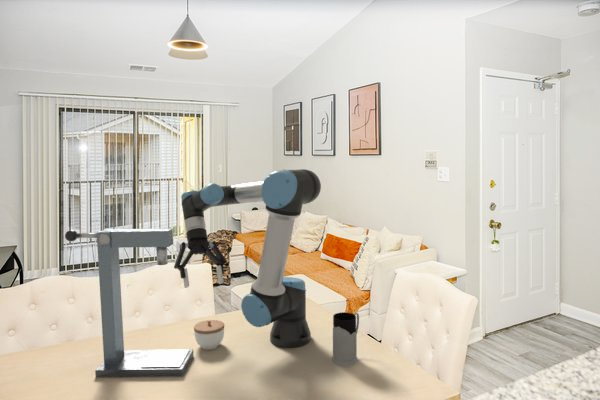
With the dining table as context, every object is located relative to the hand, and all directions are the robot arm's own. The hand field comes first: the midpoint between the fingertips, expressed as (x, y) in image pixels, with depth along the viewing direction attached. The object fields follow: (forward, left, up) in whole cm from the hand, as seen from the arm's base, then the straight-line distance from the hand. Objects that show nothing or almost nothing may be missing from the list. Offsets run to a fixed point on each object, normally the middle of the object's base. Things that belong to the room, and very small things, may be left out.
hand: (204, 285), depth 159 cm
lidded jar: (-2, +4, -21) cm, 22 cm away
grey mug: (-51, +14, -21) cm, 57 cm away
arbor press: (+20, +19, -21) cm, 35 cm away
